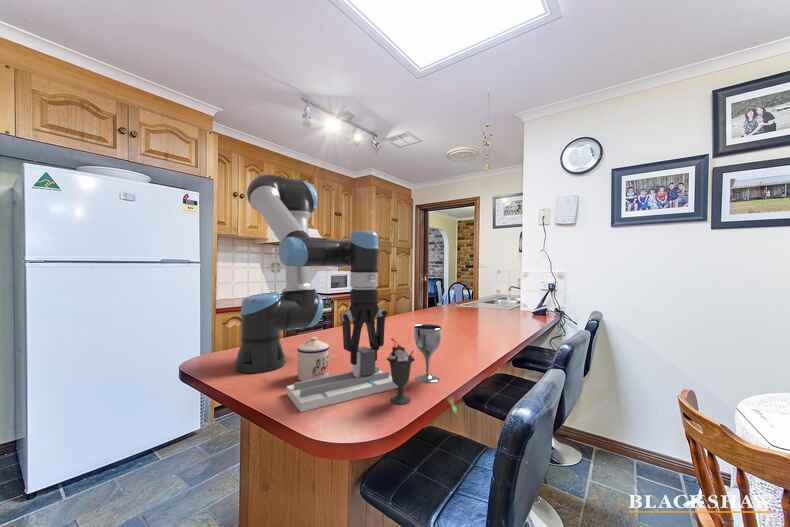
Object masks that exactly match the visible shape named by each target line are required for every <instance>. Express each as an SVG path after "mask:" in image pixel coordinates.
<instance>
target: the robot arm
mask: <svg viewBox="0 0 790 527" xmlns="http://www.w3.org/2000/svg"><path fill="white" fill-rule="evenodd" d="M246 190H247V191H246V197H247V201H248V203H249V205H250V206H251V207H252V209H253V210H254V211H256V212H258V213H259V214H260V216H262V218H263V219H264V221H265V223H266V224H267V225H268V227H269V229H270V230H271V231H272V232H273V234H274V236H275V237H276V238H277V240H278V242H279V245H278V256H279V261H280V263H281V264H283V265H284V267H285V268H284V269H285V270H284V271H285V285H286V286H285V287H284V288H283V289H282V291H281V293H280V292H276V291H275V292H264V293H258V294H253V295H249V296H246V297H244V298H243V300H242V301H241V309H240V324H241V326H240V328H241V329H240V339H241V340H240V346H239V349H238V353H237V355H236V358H235V361H234V370H235V371H236V372H239V373H243V374H244V373H245V374H246V373H247V374H250V373H251V374H257V373H258V374H259V373H265V372H271V371H276V370H277V369H280V368H281V367H284V366H285V365H286V355H285V352H284V349H283V346H282V344H281V340H280V339H281V334H280V333H281V331H288V330H296V329H306V328H308V327H314V326H316V325H317V324H318V323H319V321H320V320H321V319H322V316H323V313H324V301H323V299H322V296H321V295H320V294H318V293H317V291H316V288H315V287H314V286H313V285H312V278H311V277H312V276H311V267H334V268H336V267H337V268H341V267H350V271H349V272H350V278H349V281H350V285H349V287H351V288H350V294H349V295H350V297H349V298H350V299H349V300H350V307H349V309H348V310H347V311H346V312H344V313H343V312H341V313H340V314H339V317H340V319H341V322H342V344H343V350H345V351H347V352H350V364H351V365H352V371H353V375H354V376H356V377H360V352H358V347H360V340H361V334H362V328H363V327H364V323H365V325H366V329H367V330H366V331H367V336H368V342H369V343H368V344H369V348H370V349H372V350H375V362H377V361H378V351H379V350H380V348H381V347H383V346H384V343H385V341H384V340H385V328H386V327H385V325H386V324H385V323H386V317H387V314H388V312H387V311H386V310H383V309H380V307H379V305H378V301H379V290H378V289H377V287H379V248H380V246H379V236H378V234H377V232H375V231H373V230H372V231H369V230H354V231H352V232H351V233H350V239H349V240H334V239H321V238H319V239H318V238H312V237H311V236H310V235H309V223H308V221H309V219H310V218H312V214H313V213H314V212H315V210H316V209H317V204H318V196H317V195H318V194H317V191H316V188H314V186H313V185H312V184H311V183H310V182H308V181H307V182H306V181H303V180H301V179H294V178H289V177H284V176H280V175H275V174H262V175H259V176H257V177H255V178H254V179H253V180H252V181H250V183H249V185H248V187H247V189H246ZM376 316H377V317H376ZM375 317H376V320H375ZM351 318H352V319H353V322H352V324H353V328H351V326H352V325H351ZM375 321H376V322H375ZM351 329H352V330H351Z"/></svg>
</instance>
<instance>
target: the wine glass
mask: <svg viewBox="0 0 790 527" xmlns="http://www.w3.org/2000/svg"><path fill="white" fill-rule="evenodd" d="M413 339H414V342H415V343H414V344H415V346H416V347H417V349H418V350H419V352H420V353H421V354H422V356H423V357H424V362H425V374H418V375H415V377H414V379H415V381H417V382H419V383H424V384H434V383H437V382H440V380H441V379H440V377H439V376H437V375H435V374H430V361H431V357H432V356H433V354H434V353H435V352H436V351H437V350H438V348H439V346H440V343H441V339H442V326H441V325H438V324H432V323H431V324H429V323H424V324H423V323H422V324H415V325H414V326H413Z"/></svg>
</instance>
